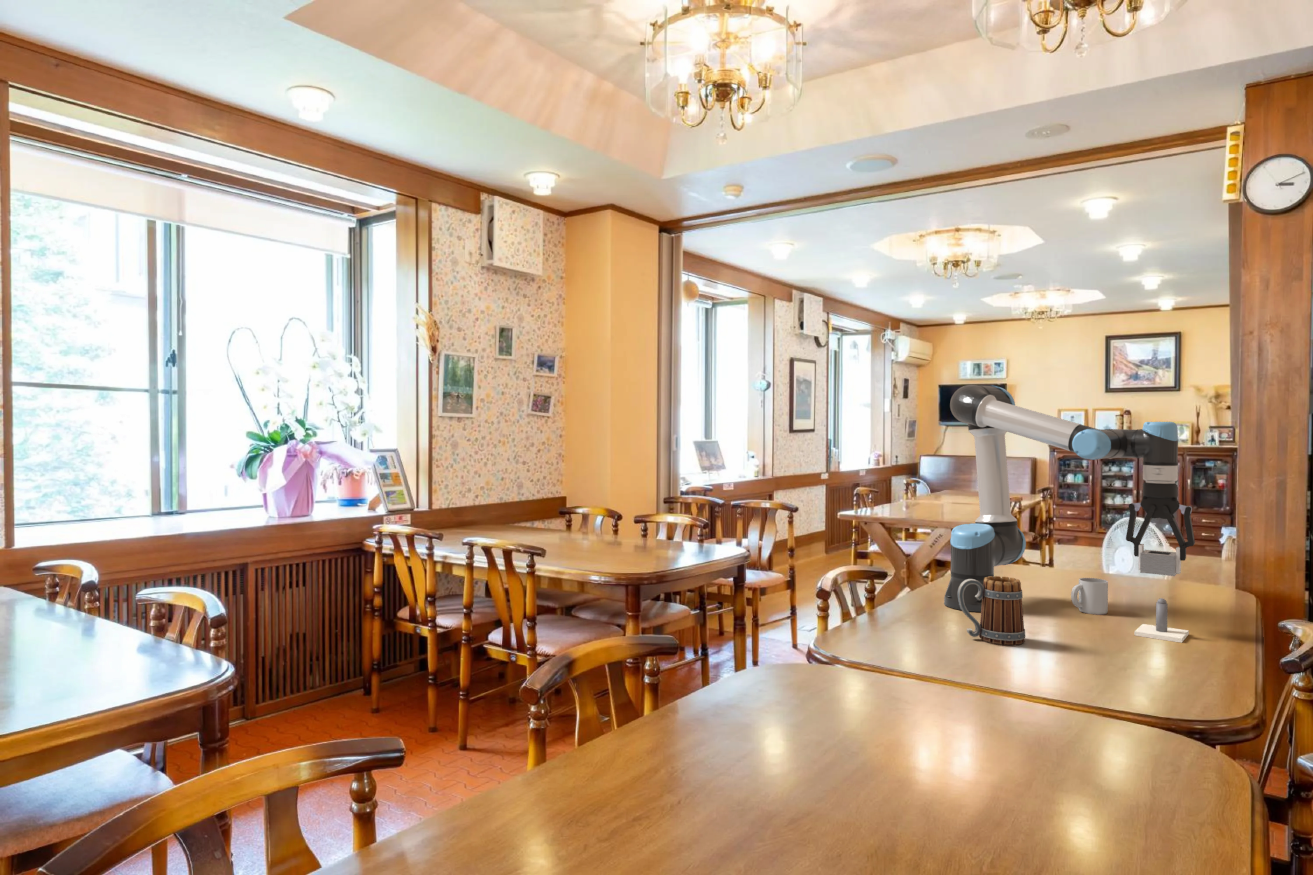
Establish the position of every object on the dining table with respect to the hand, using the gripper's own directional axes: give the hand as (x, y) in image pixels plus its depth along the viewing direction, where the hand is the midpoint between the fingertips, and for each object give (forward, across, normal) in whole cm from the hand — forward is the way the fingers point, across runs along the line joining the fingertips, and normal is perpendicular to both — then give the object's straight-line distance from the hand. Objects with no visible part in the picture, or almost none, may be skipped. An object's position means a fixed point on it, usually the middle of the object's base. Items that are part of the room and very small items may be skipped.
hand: (1159, 571), depth 202 cm
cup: (+15, -18, +11) cm, 27 cm away
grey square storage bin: (0, 0, 0) cm, 0 cm away
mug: (+15, -30, -37) cm, 50 cm away
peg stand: (+15, +1, -4) cm, 16 cm away
